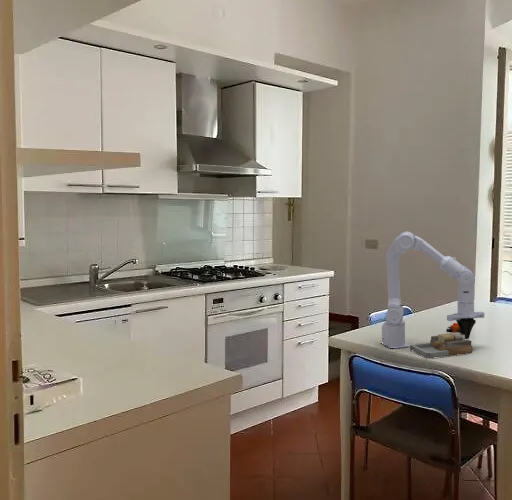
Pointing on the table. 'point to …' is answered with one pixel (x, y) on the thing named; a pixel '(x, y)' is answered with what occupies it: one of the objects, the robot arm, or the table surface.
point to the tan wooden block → (445, 338)
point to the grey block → (458, 336)
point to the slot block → (452, 346)
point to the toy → (454, 328)
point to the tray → (428, 350)
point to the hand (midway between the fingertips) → (465, 338)
